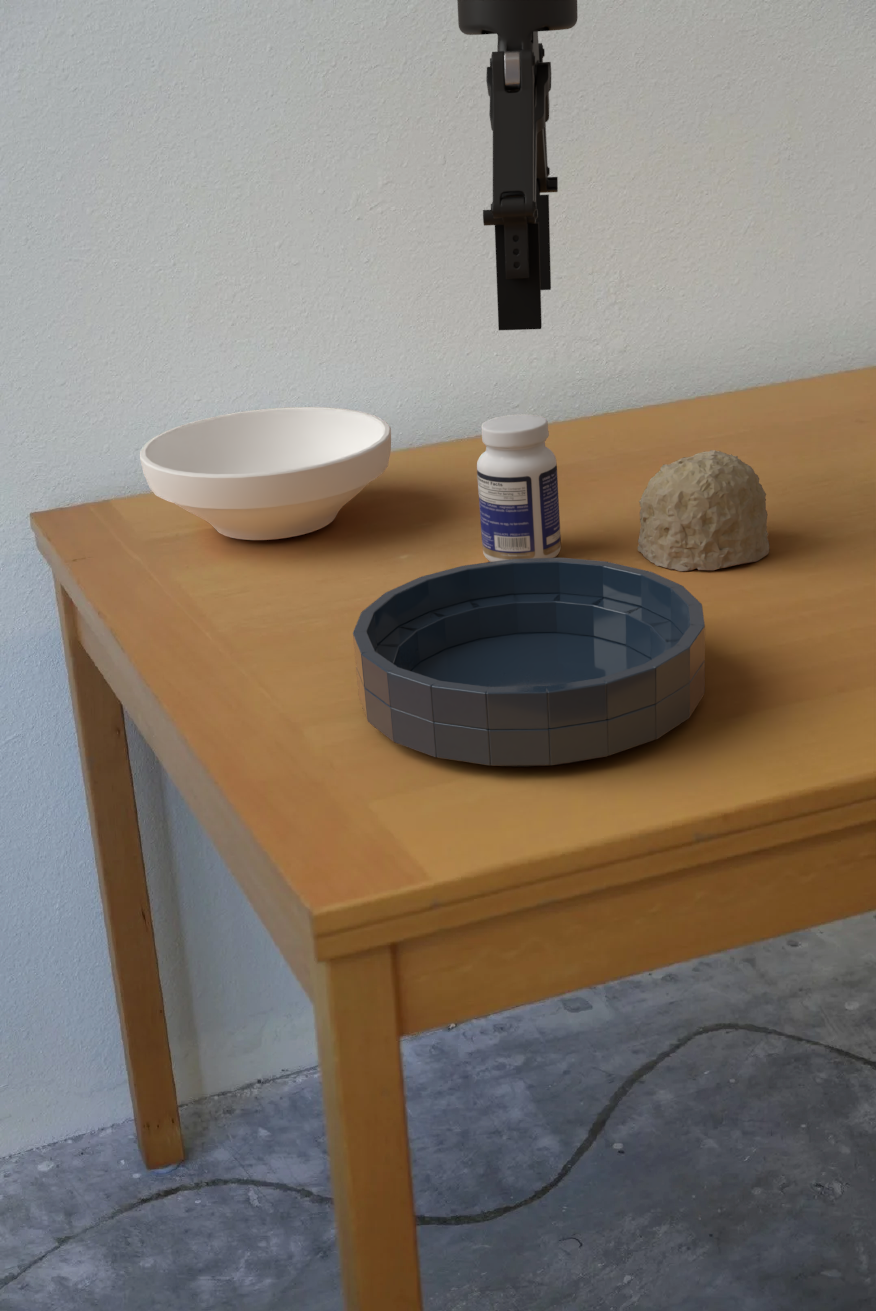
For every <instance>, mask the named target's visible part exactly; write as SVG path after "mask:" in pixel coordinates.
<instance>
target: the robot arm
mask: <svg viewBox="0 0 876 1311" xmlns="http://www.w3.org/2000/svg"><path fill="white" fill-rule="evenodd" d="M456 4H457V22H458V23H457V24H458V28H459V31H460V32H461V33H462V34H464V35H467V36H479V35H480V36H481V35H483V36H484V35H496V36H497V44H496V45H497V48H496V49H497V51H492V52H491V57H490V58H489V66H486V80H485V81H486V88H487V94H488V96H489V122H490V128H491V131H492V202H491V203H490V209H482V223H483V226H494V243H495V244H494V245H495V246H494V247H495V272H496V273H495V274H496V296H497V297H496V299H497V323H498V324H497V325H498V331H518V330H519V331H521V330H522V331H524V330H525V331H526V330H542V327H543V326H542V291H551V289H552V277H551V276H552V275H551V270H552V269H551V233H550V232H551V231H550V230H551V228H550V194H547V193H558V190H559V184H558V181H559V178H558V176H550V175H551V174H550V173H551V172H550V171H551V168H550V167H549V165H548V164H549V163H548V145H547V124H546V123H547V122H548V121H549V119H550V91H551V90H552V62H551V61H544V58H545V56H546V54H545V48H544V45H543V43H542V42H539V32H552V31H563V30H569V29H573V27H575V26H576V24H577V22H578V19H579V18H578V0H457V3H456ZM545 193H546V194H545Z"/></svg>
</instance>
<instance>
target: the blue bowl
mask: <svg viewBox="0 0 876 1311" xmlns="http://www.w3.org/2000/svg"><path fill="white" fill-rule="evenodd" d="M352 638H353V640H352V641H353V650H354V659H355V661H354V662H355V666H356V667H355V672H356V680H357V681H356V682H357V692H358V699H359V703H360V705H361V707H362V711H363V713H364V716H365V719H366V721H367V723H369V725H371V726H372V727H374V728H375V729H376V730H378V731H379V732H380V733H381V734H383V735H384V736H385V737H387V738H388V739H389V740H390V741H392V743H395V744H397V745H400V746H403V747H405V748H408V749H412V750H413V751H417V752H419V753H422V754H424V755H428V756H430V757H433V758H437V759H443V760H450V761H458V762H464V763H470V764H476V765H482V766H491V767H492V766H493V767H494V766H495V767H509V768H510V767H512V768H528V767H529V768H531V767H547V766H548V767H549V766H558V765H566V764H573V763H579V762H584V761H589V760H593V759H594V760H595V759H599V758H606V757H608V756H612V755H615V754H618V753H621V752H624V751H627V750H630V749H633V748H635V747H639V746H641V745H645V744H647V743H650V742H653V741H655V740H658V739H660V738H661V737H662V736H664V735H666V734H667V733H669V732H670V731H672V730H673V729H675V728H676V727H678V726H680V725H681V724H683V723H685V722H686V721H687V720H689V719H690V717H691V716H692V714H693V713H694V711H695V709H696V708H697V707H698V705H699V703H700V702H701V700H702V699H703V697H704V696H705V693H706V683H705V682H706V680H705V679H706V624H705V614H704V608H703V604H702V603H701V602H700V600H698V599H697V598H696V597H695V596H694V595H693V594H692V593H691V592H690V591H689V590H688V589H687V588H686V587H685V586H684V585H682V584H680V583H677V582H675V581H673V580H671V579H668V578H666V577H664V576H662V575H659V574H658V573H655V572H653V571H651V570H650V571H649V570H646V569H641V568H637V567H632V566H628V565H623V564H620V563H615V562H611V561H606V560H595V559H594V560H593V559H582V558H569V557H555V558H529V559H509V560H501V561H494V562H490V561H488V562H479V563H472V564H466V565H460V566H456V567H452V568H448V569H446V570H441V571H437V572H434V573H430V574H426V575H422V576H419V577H417V578H415V579H412V580H410V581H408V582H406V583H404V584H402V585H398V586H397V587H394V588H393V589H390V590H388V591H386V592H384V593H382V594H381V595H380V596H379V597H378V598H377V599H375V600H374V601H373V602H372V603H371V604H369V605H368V606H367V607H365V608H364V609H362V611H361V612H360V614H359V616H358V619H357V621H356V624H355V627H354V628H353V631H352Z"/></svg>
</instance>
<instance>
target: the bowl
mask: <svg viewBox="0 0 876 1311" xmlns="http://www.w3.org/2000/svg"><path fill="white" fill-rule="evenodd" d="M391 451H392V427H391V426H390V425H389V423H388V422H387V421H386V420H385V419H383V418H380V417H379V416H378V415H374V414H372V413H369V412H365V411H361V410H356V409H355V410H354V409H349V408H342V407H341V408H340V407H339V408H338V407H330V406H328V407H327V406H286V407H275V408H274V407H271V408H261V409H252V410H244V411H238V412H232V413H231V412H230V413H226V414H220V415H219V414H218V415H215V416H212V417H206V418H202V419H197V420H194V421H191V422H187V423H184V424H181V425H178V426H176V427H172V428H170V429H167V430H165V431H163V432H162V433H159V434H157V435H155V436H154V437H152V438H150V439H149V440H148V441H147V442H146V443H145V444H143V446H142V448H141V449H140V451H139V459H140V460H139V461H140V464H141V469H142V472H143V476H144V478H145V480H146V482H147V485H148V487H149V490H150V491H151V492H152V493H153V494H154V495H155V496H156V497H158V498H160V499H162V500H164V501H167V502H169V503H172V504H174V505H176V506H177V507H178V508H181V509H183V510H184V511H187V512H188V513H189V514H191V515H194V516H195V517H197V518H199V519H201V520H203V521H205V522H207V523H208V524H210V526H212V527H213V528H214V529H215V531H217V532H218V534H220V535H222V536H225V537H228V538H231V539H237V540H247V541H267V540H268V541H269V540H279V539H287V538H292V537H298V536H302V535H305V534H309V533H313V532H316V531H317V530H321V529H323V528H325V527H327V526H328V525H330V524H331V523H332V522H333V521H334V520H335V519H336V517H337V515H338V513H339V511H340V510H341V509H342V508H343V507H344V506H345V505H346V504H348V503H349V502H350V501H351V500H352V499H354V498H355V497H357V495H359V493H361V491H363V490H364V489H365V487H367V486H368V485H369V484H370V482H373V481H374V480H376V479H377V478H379V477H380V476H381V475H382V474H384V472H385V471H386V470H387V468H388V467H389V463H390V457H391Z"/></svg>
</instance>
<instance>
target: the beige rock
mask: <svg viewBox="0 0 876 1311" xmlns="http://www.w3.org/2000/svg"><path fill="white" fill-rule="evenodd" d="M659 469H660V470H659V471H658V472H656V473H655V475H654V476H651V478H650V479H649V481H648V483H647V486H646V488H645V489H644V490H643V493H642V495H641V498H640V500H638V503H639V505H640V510H639V523H640V529H639V537H638V539H637V543H638V545H637V551H638V552H639V553H641V554H642V555H643V558H645V559H646V560H648V561H649V562H650V563H651V564H654V565H655V566H656V567H663V568H666V569H667V570H676V571H679V572H686V571H693V570H696V569H697V570H698V571H715V570H720V569H725V568H729V567H735V566H739V565H746V564H751V563H757V562H759V561H760V560H761V559H763V558H765V557H766V556H767V555H769V553H770V542H769V539H768V536H769V532H768V510H767V502H766V501H767V499H766V497H767V493H766V492H765V490H764V488H763V485H762V484H761V483H760V477H759V475H758V474H757V473H756V471H755V470H754V468H753V467H752V466H751V465H749V464H747V463H745V462H744V461H743V460H742V459H741V458H739V456H738V455H733V454H732V453H731V454H727V453H726V452H723V451H721V450H716V449H713V450H712V449H710V450H709V451H702V452H698V453H695V454H694V455H692V456H685V457H684V456H683V457H681V458H679V459H678V460H676V461H673V462H671V463H669V464H668V463H667V464H663V465H662V466H660V468H659Z"/></svg>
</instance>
